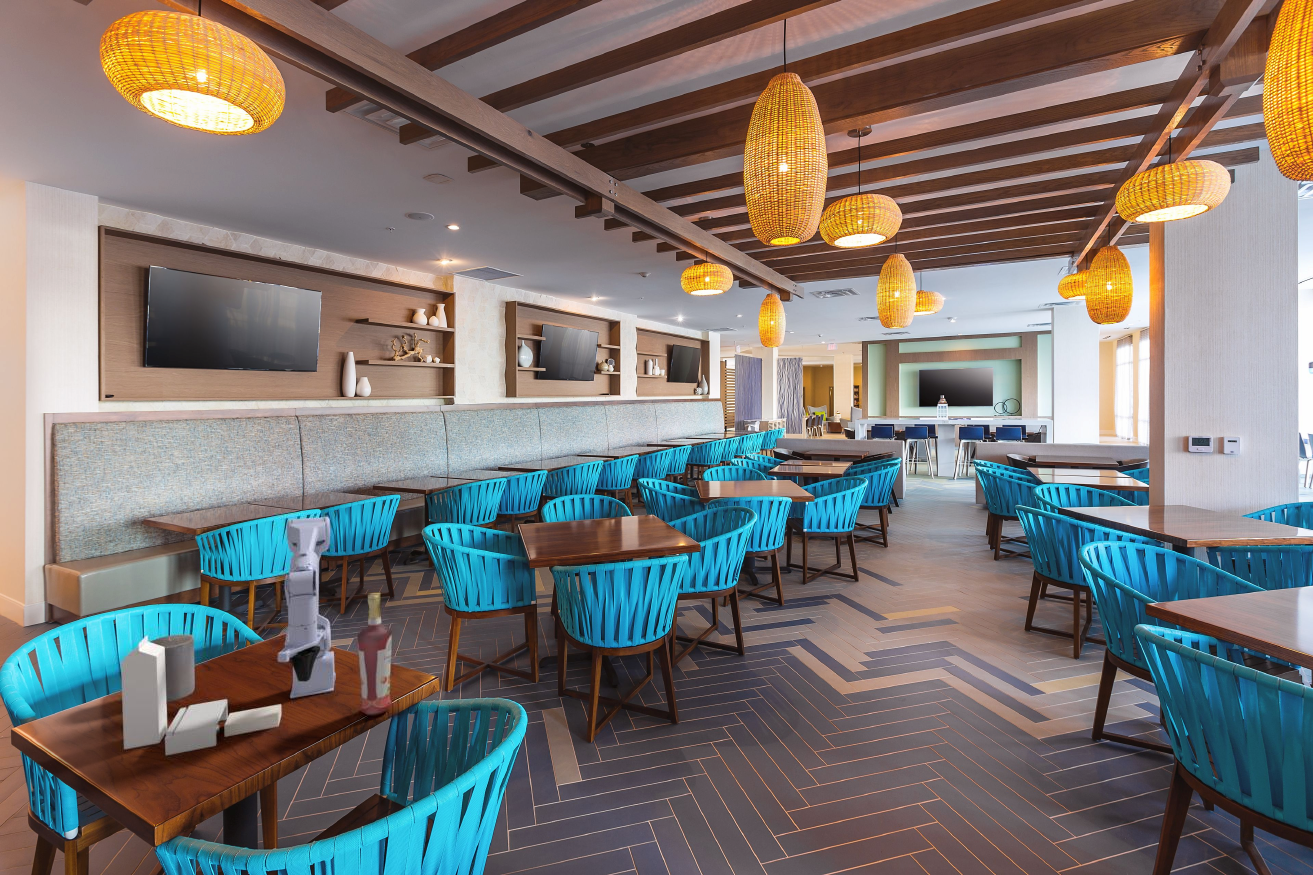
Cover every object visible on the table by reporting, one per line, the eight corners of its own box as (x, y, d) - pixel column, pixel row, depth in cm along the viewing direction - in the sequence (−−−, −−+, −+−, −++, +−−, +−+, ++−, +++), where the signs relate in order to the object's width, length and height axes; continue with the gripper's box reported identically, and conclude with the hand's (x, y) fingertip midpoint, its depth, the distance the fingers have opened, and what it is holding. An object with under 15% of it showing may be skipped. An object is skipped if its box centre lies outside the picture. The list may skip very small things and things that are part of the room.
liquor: (387, 717, 141) (385, 598, 140) (354, 719, 140) (352, 599, 139) (396, 702, 148) (394, 589, 147) (365, 704, 147) (362, 590, 146)
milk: (167, 730, 135) (165, 632, 135) (159, 743, 130) (157, 641, 129) (132, 736, 133) (130, 636, 132) (122, 750, 127) (120, 646, 127)
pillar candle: (135, 701, 149) (133, 641, 148) (175, 683, 158) (174, 627, 158) (166, 706, 147) (164, 645, 146) (205, 688, 156) (203, 630, 155)
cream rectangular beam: (281, 714, 142) (281, 703, 142) (278, 726, 137) (278, 715, 137) (230, 723, 138) (229, 713, 138) (224, 736, 133) (224, 725, 132)
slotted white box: (227, 717, 141) (227, 698, 141) (215, 745, 129) (215, 724, 129) (182, 726, 137) (181, 706, 137) (165, 755, 125) (164, 733, 125)
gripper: (306, 611, 149) (307, 666, 149) (264, 633, 134) (265, 693, 135) (334, 612, 148) (335, 667, 149) (294, 634, 134) (296, 694, 134)
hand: (304, 680), depth 142 cm, fingers closed
